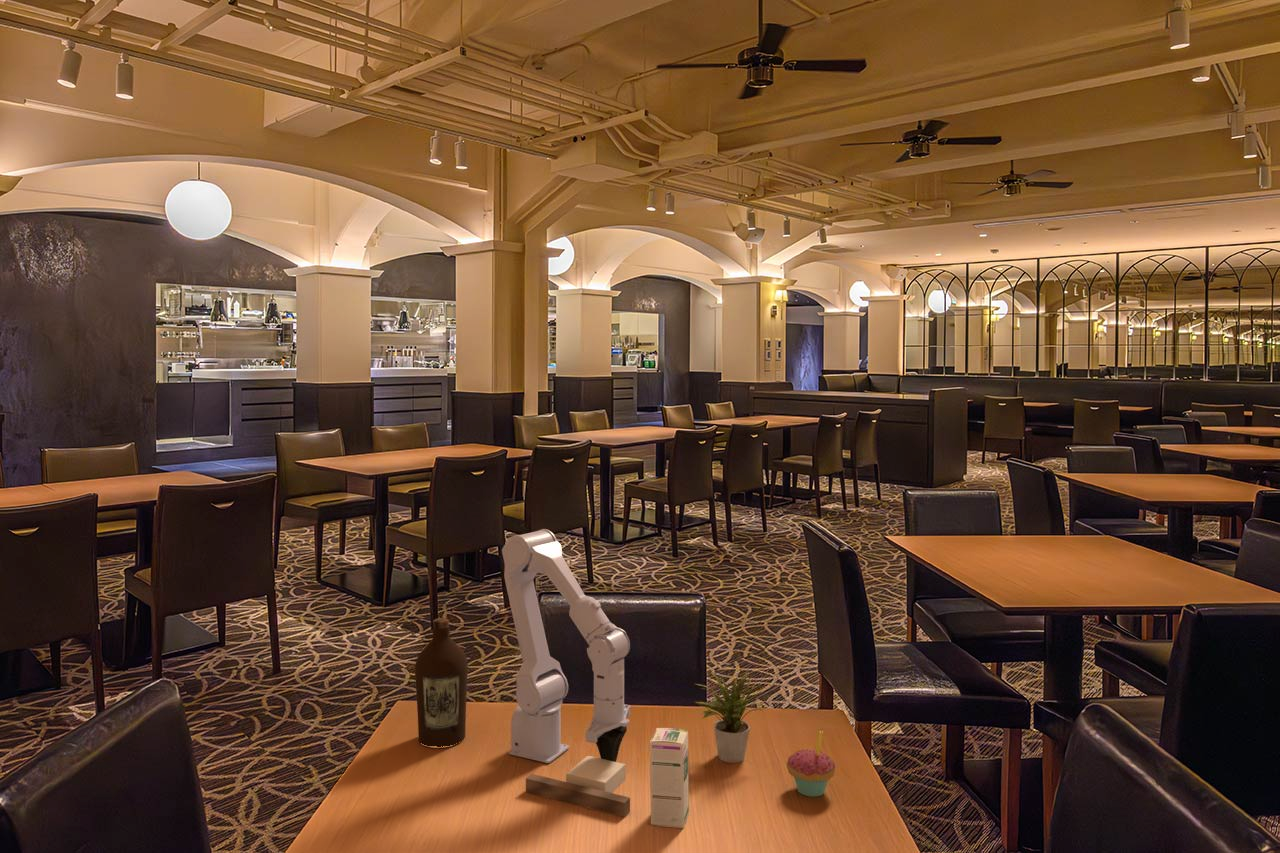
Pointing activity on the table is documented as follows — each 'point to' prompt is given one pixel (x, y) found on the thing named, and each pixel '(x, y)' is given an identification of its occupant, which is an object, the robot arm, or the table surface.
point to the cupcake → (811, 770)
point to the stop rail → (578, 795)
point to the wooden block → (597, 774)
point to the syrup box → (669, 777)
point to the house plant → (730, 720)
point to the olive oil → (441, 689)
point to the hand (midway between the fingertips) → (608, 765)
